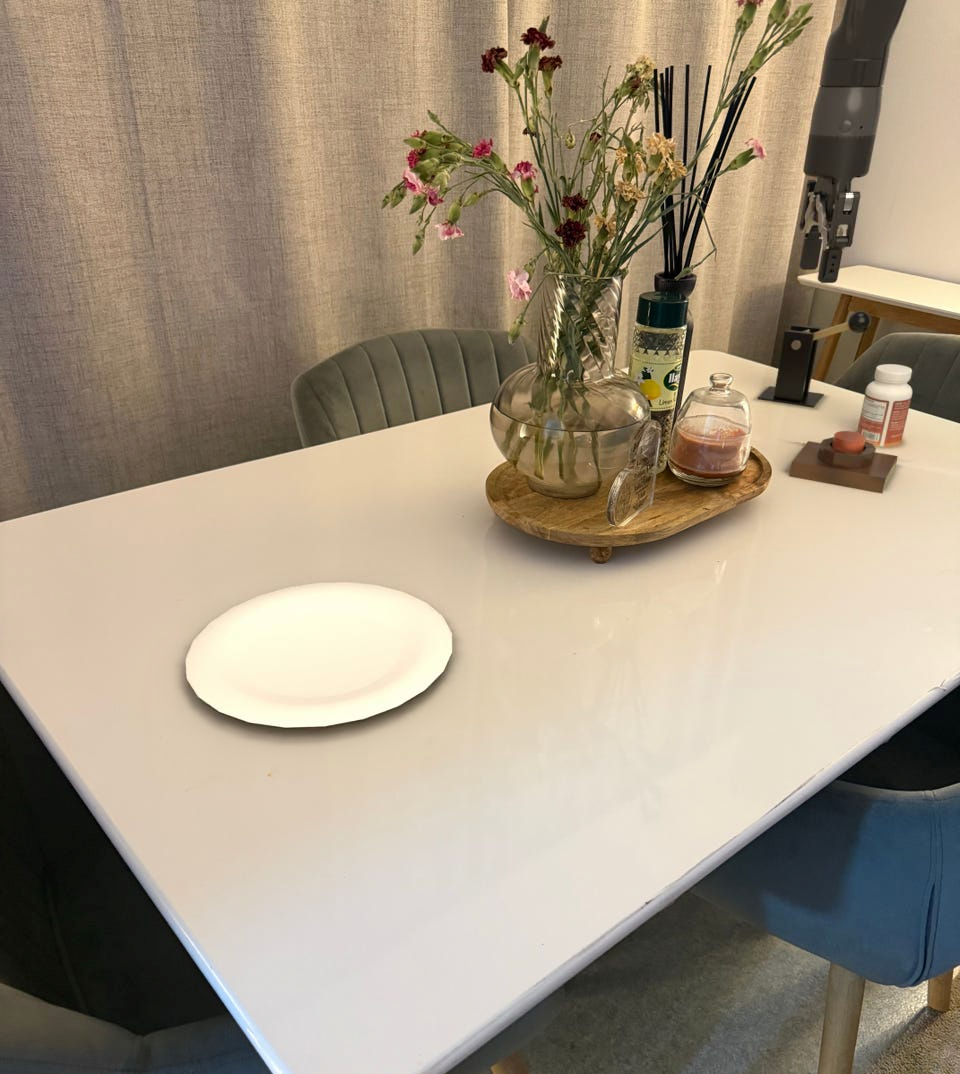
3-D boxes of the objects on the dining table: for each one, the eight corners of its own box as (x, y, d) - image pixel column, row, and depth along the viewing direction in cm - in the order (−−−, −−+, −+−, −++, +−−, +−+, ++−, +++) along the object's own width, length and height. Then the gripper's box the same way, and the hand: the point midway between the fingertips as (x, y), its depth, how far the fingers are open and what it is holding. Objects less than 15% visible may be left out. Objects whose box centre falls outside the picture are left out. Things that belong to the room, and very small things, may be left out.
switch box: (894, 471, 126) (901, 443, 123) (882, 494, 119) (889, 465, 117) (805, 455, 131) (810, 428, 129) (788, 476, 124) (794, 448, 122)
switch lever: (874, 326, 140) (869, 305, 139) (870, 331, 138) (865, 310, 137) (797, 350, 148) (791, 331, 147) (792, 355, 145) (786, 336, 144)
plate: (385, 768, 74) (384, 751, 73) (130, 706, 81) (125, 690, 80) (490, 617, 94) (489, 603, 93) (276, 578, 101) (274, 565, 100)
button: (865, 446, 124) (868, 433, 123) (859, 456, 121) (862, 443, 120) (835, 441, 125) (837, 429, 124) (828, 450, 122) (831, 438, 121)
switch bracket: (822, 401, 151) (837, 327, 145) (812, 413, 146) (826, 337, 140) (768, 393, 155) (779, 321, 149) (756, 404, 150) (768, 330, 144)
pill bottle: (895, 438, 136) (913, 363, 130) (903, 453, 131) (922, 375, 125) (851, 435, 137) (867, 361, 131) (858, 450, 132) (875, 373, 126)
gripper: (896, 135, 102) (864, 287, 111) (855, 126, 114) (830, 264, 123) (828, 135, 103) (802, 287, 111) (795, 127, 115) (774, 265, 123)
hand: (817, 275), depth 117 cm, fingers open, 8 cm apart
